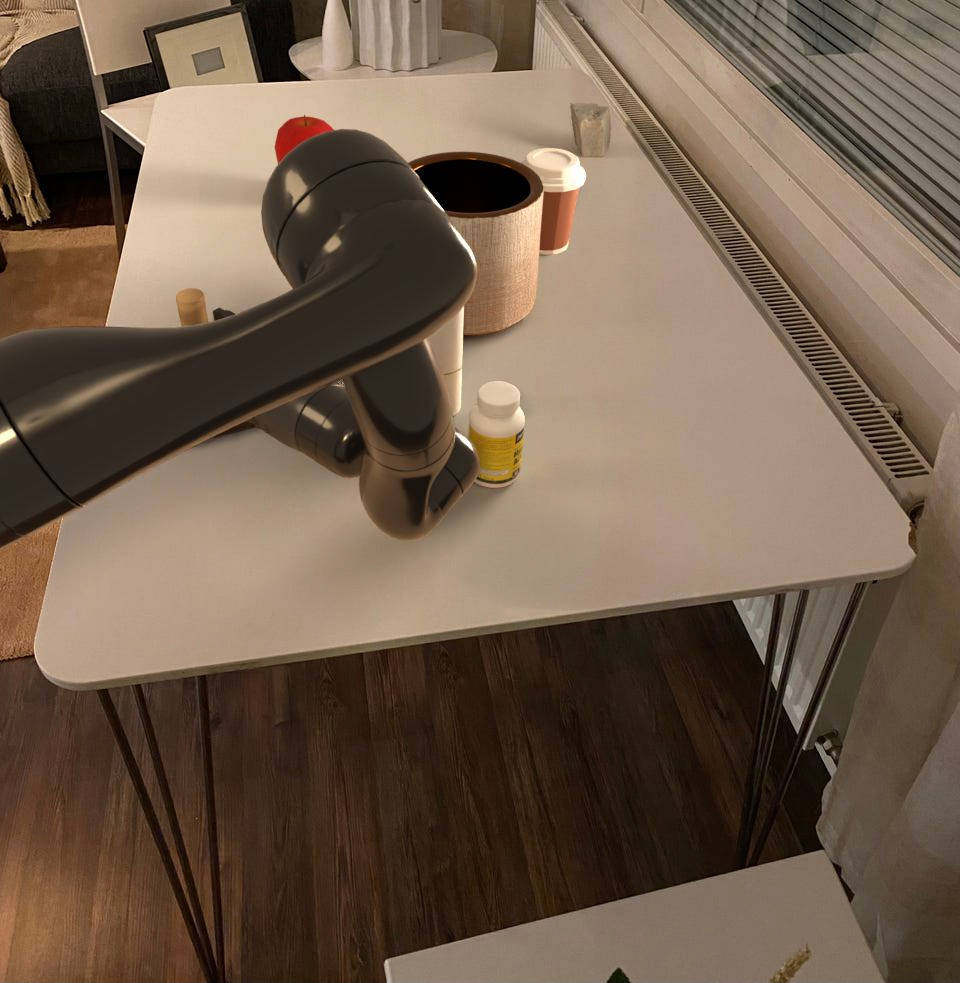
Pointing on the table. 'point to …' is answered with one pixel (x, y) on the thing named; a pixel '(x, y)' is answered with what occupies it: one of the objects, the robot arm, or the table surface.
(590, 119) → the mineral specimen
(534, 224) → the planter
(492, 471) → the supplement bottle
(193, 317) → the wooden peg stand
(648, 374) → the table surface
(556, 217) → the coffee cup
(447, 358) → the tube
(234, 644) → the table surface
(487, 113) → the table surface
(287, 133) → the apple
